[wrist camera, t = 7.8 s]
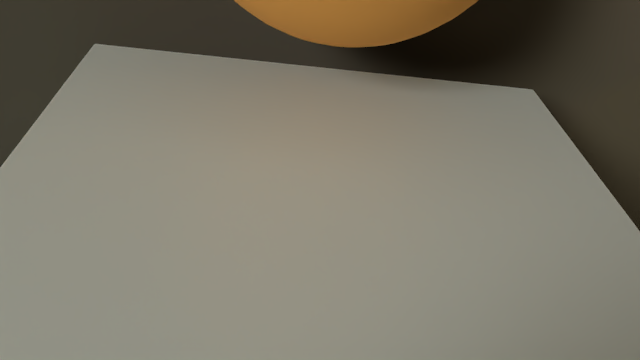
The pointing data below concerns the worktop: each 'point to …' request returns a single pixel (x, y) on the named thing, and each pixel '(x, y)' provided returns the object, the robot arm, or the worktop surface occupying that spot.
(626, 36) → the worktop surface
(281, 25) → the ball
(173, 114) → the pale grey cube
